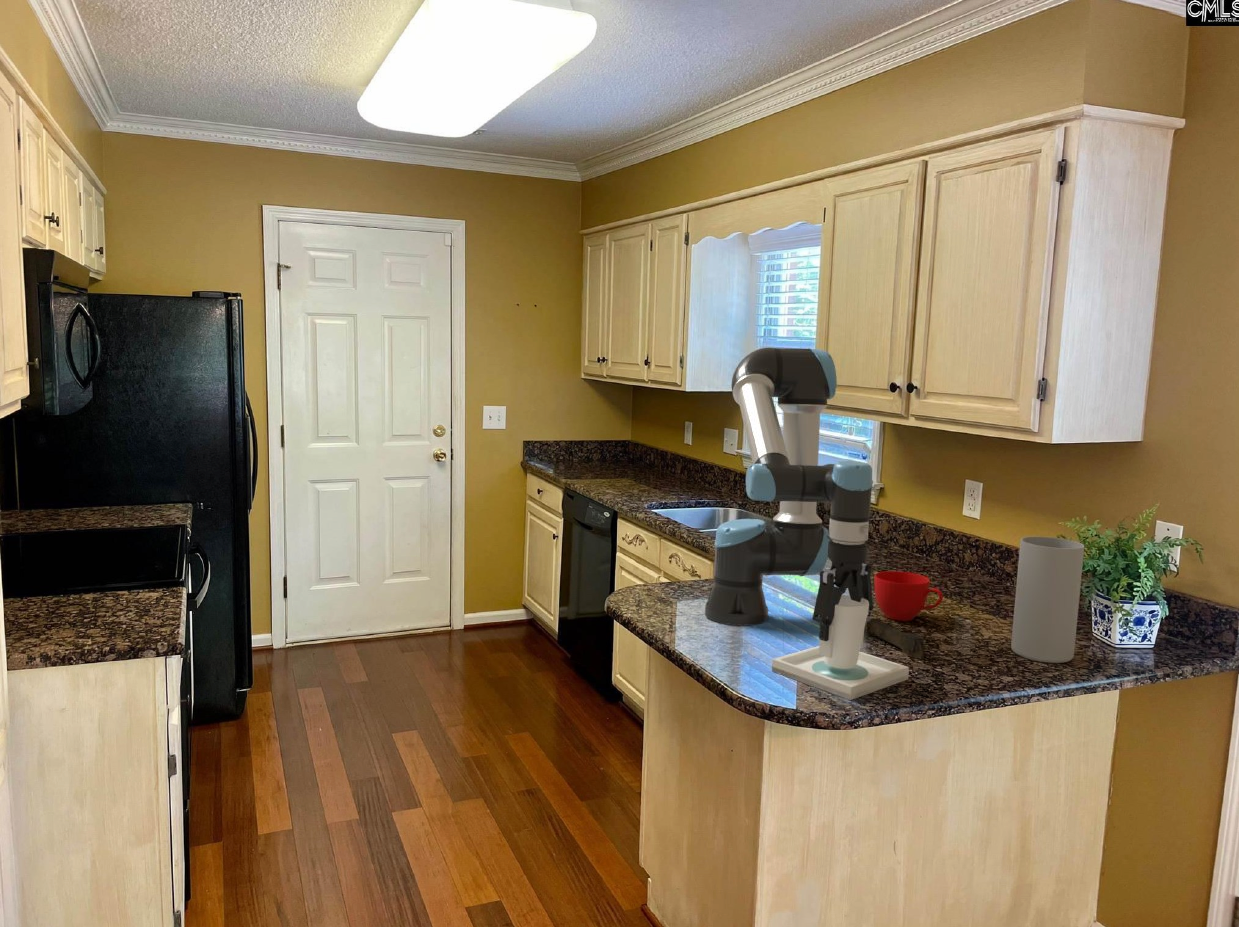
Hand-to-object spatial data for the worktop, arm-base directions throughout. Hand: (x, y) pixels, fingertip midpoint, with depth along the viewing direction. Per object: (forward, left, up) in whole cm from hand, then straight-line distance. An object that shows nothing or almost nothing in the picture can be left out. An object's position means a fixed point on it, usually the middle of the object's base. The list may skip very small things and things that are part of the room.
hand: (841, 651), depth 187 cm
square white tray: (0, 0, -5) cm, 5 cm away
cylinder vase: (+18, +48, -5) cm, 52 cm away
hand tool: (-4, +26, -5) cm, 27 cm away
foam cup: (0, 0, -3) cm, 3 cm away
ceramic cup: (-15, +47, -5) cm, 50 cm away
